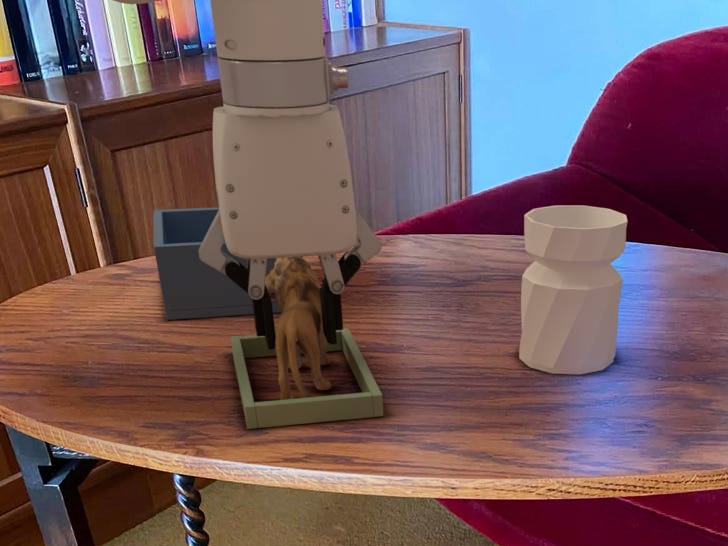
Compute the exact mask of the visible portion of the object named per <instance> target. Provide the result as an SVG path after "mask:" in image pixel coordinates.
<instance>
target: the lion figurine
mask: <svg viewBox="0 0 728 546" xmlns="http://www.w3.org/2000/svg"><path fill="white" fill-rule="evenodd" d="M265 285H266V288H267V291H269V294H270V297H271V301H274V300H277V301H278V304H279V305H280V311H281V312H280V313H281V314H280V316H279V317H278V319H277V321H276V331H275V333H276V341H275V345H276V352H277V356H276V360H277V368H278V379H277V380H278V385H279V388H280V395H279V400H287V399H295V398H294V395H293V393H291V388H290V376H289V371H288V370H291V374H292V377H293V380H294V383H295V385H296V387H297V389H298V391H299V393H300V394H301V397H302V398H310V397H312V394H311V393H310V392H309V391H308V390H307V387H305V385H304V384H303V381H302V378H301V375H300V371H299V370H300V369H301V368H302V365H303V358H302V354H300V351H299V347H300V349H301V350H302V352H303V353H304V354H303V355H304V356H305V358H306V360H307V362H308V363H309V366H310V370H311V372H310V377H311V379H312V380H313V382H314V384H315V388H316V389H317V390H319V391H328V390H330V389H331V388H332V384H331V382H330V381H329V380H327V379H324V378H323V375H322V371H321V366H325V365H330V364H331V358H330V357H327V352H326V348H327V340H326V338H325V335H324V333H323V324H322V313H321V301H320V289H319V288H322V286H321V283H320V279H319V277H318V275H317V273H316V272H315V271H313V269H312V266H311V264H310V263H309V262H308V261H307V260H306V259H305V258H304V257H303V258H301V257H284V258H276V262H275V268H273V270H271V271H270V274H269V275H267V276H266V277H265Z"/></svg>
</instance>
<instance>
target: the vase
mask: <svg viewBox="0 0 728 546" xmlns="http://www.w3.org/2000/svg"><path fill="white" fill-rule="evenodd" d="M523 219H524V220H523V228H524V229H523V235H524V237H523V238H524V248H525V252H526V253H527V254H528V255H529V256H530V257H531V258H532V260H534V261H533V262H532V263H531V264H530V265H529V266H527V267H526V269H525V270H524V271H523V274H522V277H521V287H520V289H521V290H520V291H521V292H520V314H521V315H520V317H521V335H520V340H519V341H520V342H519V349H518V359H519V360H520V361H521V362H523V364H525V365H526V366H527V367H529V368H530V369H531V368H532V369H533V370H534V369H535V370H538V371H542V372H546V373H549V374H555V375H558V374H559V375H579V376H580V375H584V374H590V373H595V372H599V371H604V370H605V369H606V368H607V367H609V366H610V365H611V364H612V363H614V358H616V350H617V349H616V348H617V343H618V342H617V340H618V328H619V327H618V326H619V325H618V324H619V307H620V300H621V295H622V289H623V281H624V278H623V277H622V275H621V274H620V272H619V271H618V270H617V269H616V268H615V267H614V266H613V265H612V263H613V262H614V261H616V259H618V258H620V257H621V256H622V254H623V253H624V252H625V250H626V246H627V245H626V244H627V243H626V241H627V227H628V218H627V214H624V213H622V212H619V211H617V210H614V209H611V208H606V207H598V206H590V205H550V206H543V207H537V208H532V209H531V210H529V211H528V212H526V213H524V216H523Z"/></svg>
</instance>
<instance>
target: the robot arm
mask: <svg viewBox="0 0 728 546" xmlns="http://www.w3.org/2000/svg"><path fill="white" fill-rule="evenodd" d="M112 1H114V2H117V3H120V4H126V5H140V4H148V3H152V2H159V1H160V2H161V1H162V0H112ZM209 1H210V10H211V17H212V24H213V31H214V39H215V40H214V41H215V48H216V55H217V66H218V73H219V80H220V81H219V82H220V88H221V89H220V90H221V96H222V104H223V106H217V107H214V108H213V113H212V155H213V171H214V180H215V193H216V202H217V207H218V212H217V214H216V216H215V218H214V220H213V222H212V224H211V226H210V228H209V230H208V232H207V234H206V236H205V238H204V240H203V242H202V244H201V246H200V248H199V251H198V252H199V258H200V260H201V261H202V262H204V263H205V264H207V265H209V266H211V267H212V268H214V269H216V270H217V271H219V272H222V273H223V274H225V275H227V276H228V277H229V278H230V279H231V280H232V281H233V282H235V283H236V284H237V285H238V286H239V287H241V288H242V289H243V290H244V291H245V292H247V293H248V294H249V296H250V297H251V298H252V304H253V312H254V314H253V320H254V327H255V333H256V334H255V335H257V336H265V340H266V343H267V347H268V350H269V349H275V347H276V345H275V341H276V334H275V333H276V327H275V325H276V324H275V317H274V313H273V308H272V301H271V297H270V294H269V291H267V288H266V285H265V277H266V266H267V258H284V257H301V256H303V257H314V256H315V257H316V256H318V260H319V264H320V267H321V271H322V274H323V278H322V280H321V283H322V284H320V286H321V287H322V288H319V289H320V301H321V313H322V324H323V333H324V335H325V338H326V340H327V342H328V343H330V344H337V337H336V330H343V328H344V323H343V322H344V321H343V309H342V307H343V306H342V293H343V292H344V290H345V287H346V286H347V284H348V283H349V282H350V280H351V279H352V278H353V277H354V276H355V275H356V274H357V272H358V271H359V270H360V268H361V267H362V266H363V265H364V264H366V263H367V262H369V261H370V260H371V259H372V258H373V257H375V256H376V255H377V254H378V253H380V252H381V250H382V248H383V246H382V242H381V241H380V240H379V238H378V236H377V235H376V233H375V232H374V231H373V230H372V228H371V227H370V225H369V224H368V223H367V221H366V220H365V219H364V217H363V216H362V214H361V213H360V212H359V210H358V209H357V207H356V201H355V193H354V186H353V177H352V171H351V163H350V155H349V151H348V146H347V140H346V134H345V130H344V126H343V121H342V117H341V113H340V110H339V107H338V106H337V105H335V104H330V101H332V98H331V95H333V94H334V91H335V92H336V91H339V89H348V88H349V74H348V68H347V66H341V67H340V66H339V67H337V65H336V64H332V63H331V62H330V61H329V59H328V58H327V57H326V55H327V54H326V52H327V51H326V37H325V36H326V35H325V25H324V11H323V0H209ZM224 241H225V242H226V246H227V249H228V251H229V252H230V253H231V254H233V255H235V256H237V257H240V258H245V259H247V268H246V267H245V266H243V265H242V264H241V263H240V262H239V261H237V260H236V259H235V258H231V257H230V256H228V255H227V254H225V253H224V252H222V250H221V248H222V245H223V243H224ZM342 253H343V254H342ZM339 254H342V256H341V257H340V258H339V260H338V257H337V255H339Z"/></svg>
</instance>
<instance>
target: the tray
mask: <svg viewBox="0 0 728 546" xmlns="http://www.w3.org/2000/svg"><path fill="white" fill-rule="evenodd" d="M275 334H276V332H275ZM336 337H337V344H330V343H328V342H327V348H326V353H328V352H340V351H342V352H343V354H344V356H345V358H346V361H347V363H348V365H349V367H350V369H351V372H352V373H353V375H354V378H355V379H356V382H357V384H358V386H359V388H360V391H361V392H355V393H345V394H344V393H343V394H333V395H323V396H311V397H310V398H303V397H300V398H294V399H287V400H280V399H277V400H266V401H257V402H256V401H255V400H254V395H253V390H252V387H251V382H250V377H249V374H248V373H249V372H248V369H247V365H246V361H245V359H249V358H250V359H251V358H264V357H265V358H266V357H277V352H276V347H275V349H269V350H268V347H267V343H266V340H265V336H257V334H250V335H249V334H247V335H235V336H230V337H229V340H230V345H231V352H232V358H233V363H234V369H235V374H236V379H237V384H238V389H239V394H240V400H241V404H242V409H243V414H244V420H245V425H246V429H247V430H252V429H253V430H254V429H262V428H263V429H264V428H272V427H273V428H275V427H284V426H294V425H305V424H314V423H324V422H337V421H347V420H358V419H367V418H378V417H384V399H383V398H384V397H383V396H384V395H383V393H382V391H381V390H380V389H381V388H380V387H379V386H378V384H377V382H376V379H375V377H374V375H373V374H372V371H371V370H370V367H369V366H368V364H367V362H366V359H365V358H364V356H363V353H362V352H361V349H360V348H359V346H358V344H357V342H356V340H355V338H354V336H353V334H352V333H351V331H350V328H349V327H343V330H336ZM299 351H300V354H301V355H302V354H303V355H304V353H303V352H302V350H301V349H300V347H299Z"/></svg>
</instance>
